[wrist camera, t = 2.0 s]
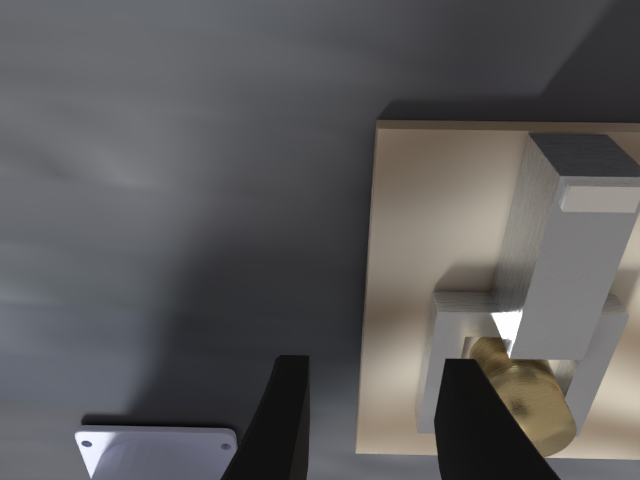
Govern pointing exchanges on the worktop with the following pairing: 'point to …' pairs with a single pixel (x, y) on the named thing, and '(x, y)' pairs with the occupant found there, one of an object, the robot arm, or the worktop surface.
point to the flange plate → (548, 272)
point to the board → (467, 272)
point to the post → (528, 395)
